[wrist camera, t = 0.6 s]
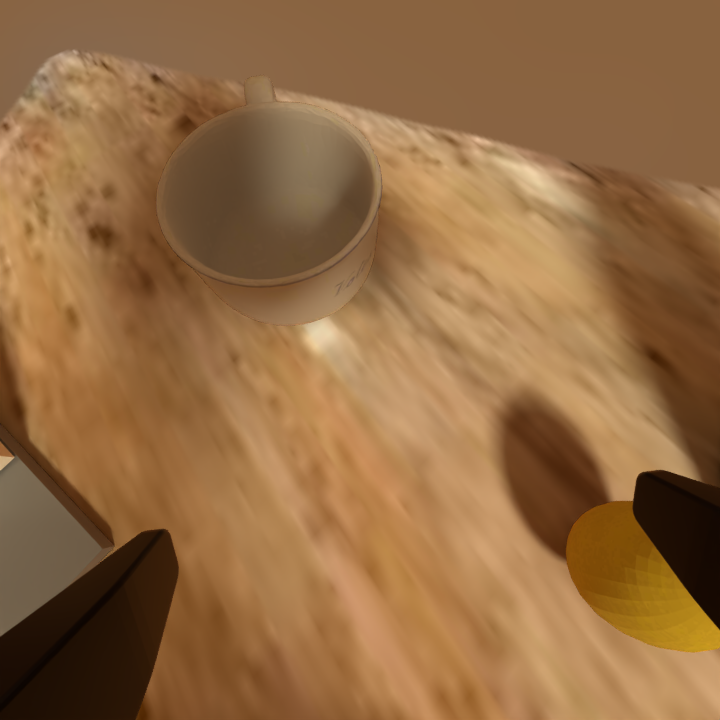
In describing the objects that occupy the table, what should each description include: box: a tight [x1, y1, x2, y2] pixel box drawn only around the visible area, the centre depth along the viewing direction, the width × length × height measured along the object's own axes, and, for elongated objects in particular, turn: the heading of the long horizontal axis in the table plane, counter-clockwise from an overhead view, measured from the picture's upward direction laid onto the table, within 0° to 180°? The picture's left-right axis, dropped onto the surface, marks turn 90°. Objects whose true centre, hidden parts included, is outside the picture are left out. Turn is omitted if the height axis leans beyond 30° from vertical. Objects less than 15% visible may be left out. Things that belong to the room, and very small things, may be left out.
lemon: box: [566, 501, 720, 652], centre depth 17 cm, size 6×6×8 cm
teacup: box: [156, 75, 382, 326], centre depth 22 cm, size 14×11×8 cm
